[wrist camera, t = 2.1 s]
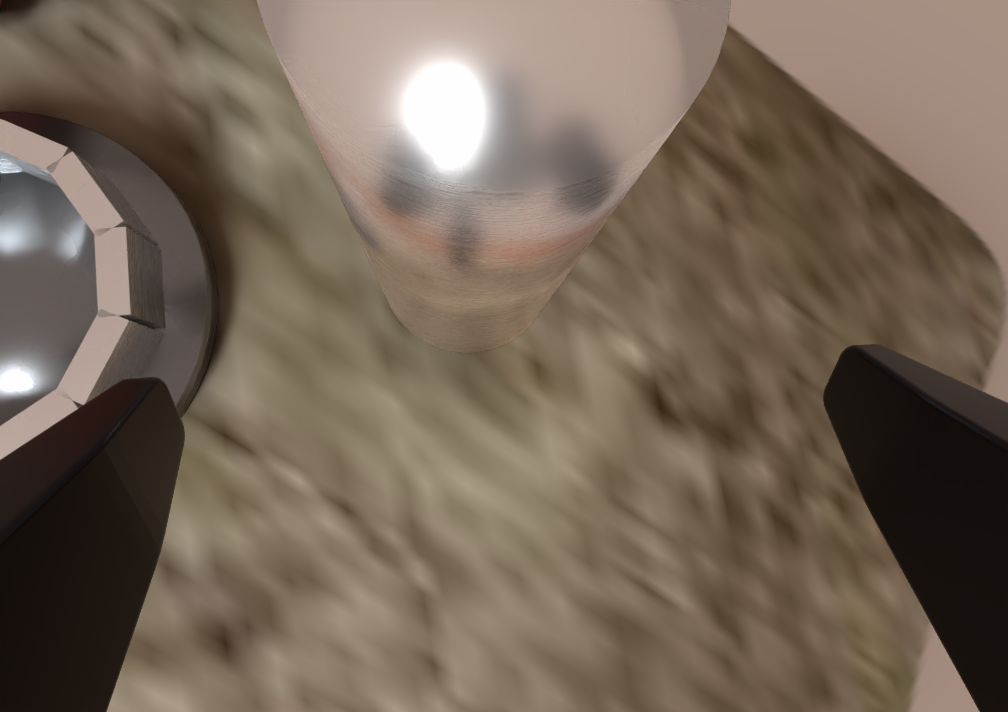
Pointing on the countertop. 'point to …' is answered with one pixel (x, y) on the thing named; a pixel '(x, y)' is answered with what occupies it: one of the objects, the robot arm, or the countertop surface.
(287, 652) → the countertop surface
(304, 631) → the countertop surface
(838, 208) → the countertop surface
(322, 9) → the clear drinking glass
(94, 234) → the collar
